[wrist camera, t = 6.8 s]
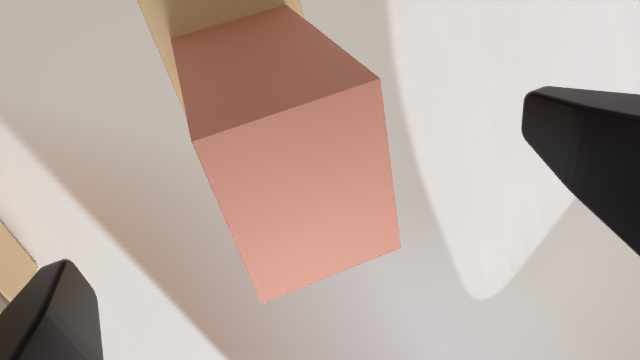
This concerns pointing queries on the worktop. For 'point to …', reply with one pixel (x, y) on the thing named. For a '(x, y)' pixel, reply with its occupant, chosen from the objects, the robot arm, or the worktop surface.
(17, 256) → the hinged cream panel
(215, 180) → the stub
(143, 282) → the worktop surface
